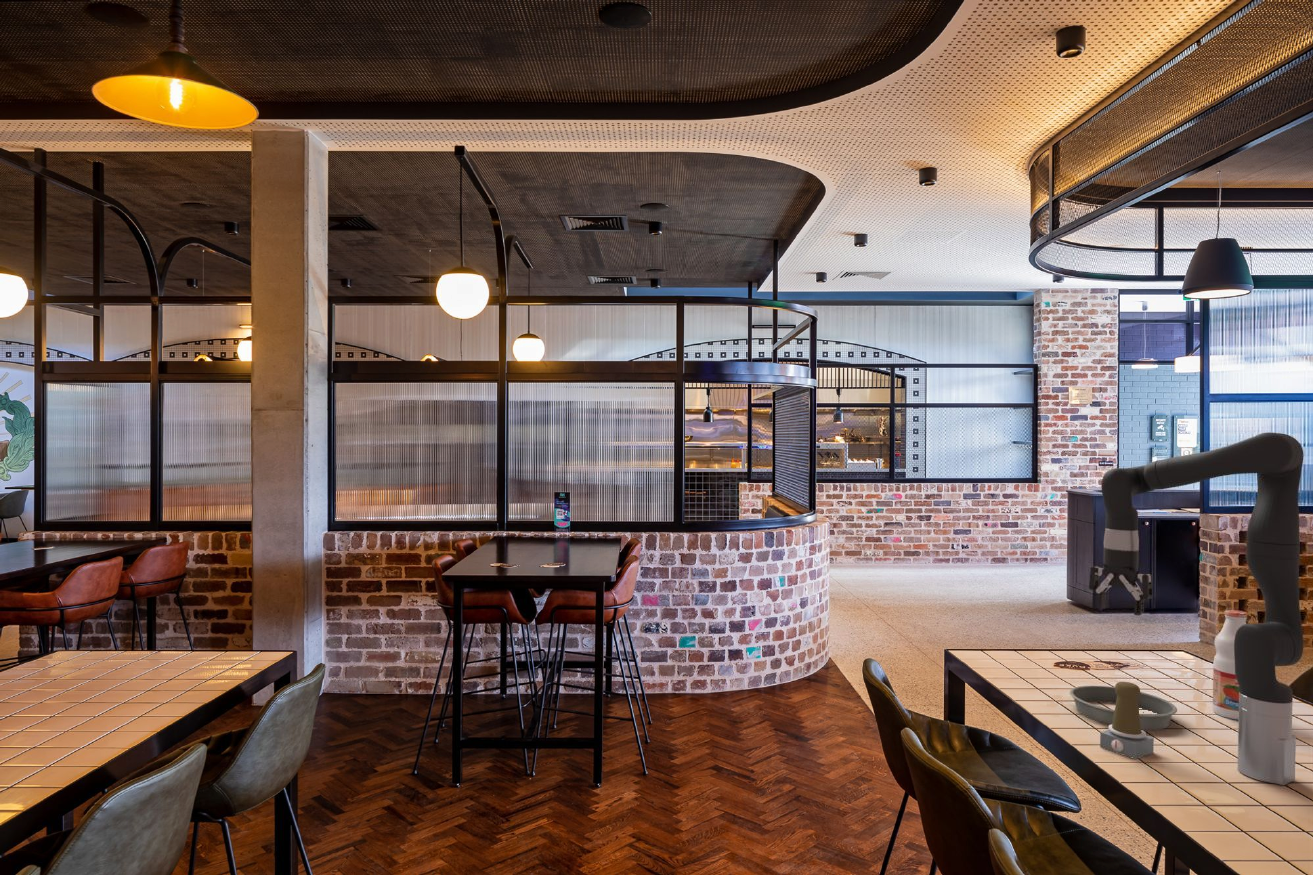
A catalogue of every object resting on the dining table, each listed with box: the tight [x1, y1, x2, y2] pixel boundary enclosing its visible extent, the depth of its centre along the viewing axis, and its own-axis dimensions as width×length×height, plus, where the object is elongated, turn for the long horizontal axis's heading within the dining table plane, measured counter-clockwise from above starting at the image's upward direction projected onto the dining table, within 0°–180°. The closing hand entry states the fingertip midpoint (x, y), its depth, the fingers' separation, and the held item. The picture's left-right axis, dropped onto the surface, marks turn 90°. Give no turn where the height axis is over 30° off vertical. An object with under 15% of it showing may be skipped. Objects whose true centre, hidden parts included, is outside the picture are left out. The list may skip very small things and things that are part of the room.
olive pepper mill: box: [1112, 681, 1142, 735], centre depth 181 cm, size 6×6×11 cm
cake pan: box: [1069, 685, 1178, 731], centre depth 205 cm, size 25×25×4 cm
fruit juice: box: [1212, 609, 1248, 721], centre depth 207 cm, size 9×9×28 cm
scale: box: [1099, 724, 1155, 760], centre depth 181 cm, size 8×8×5 cm
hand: (1119, 611), depth 193 cm, fingers open, 8 cm apart
